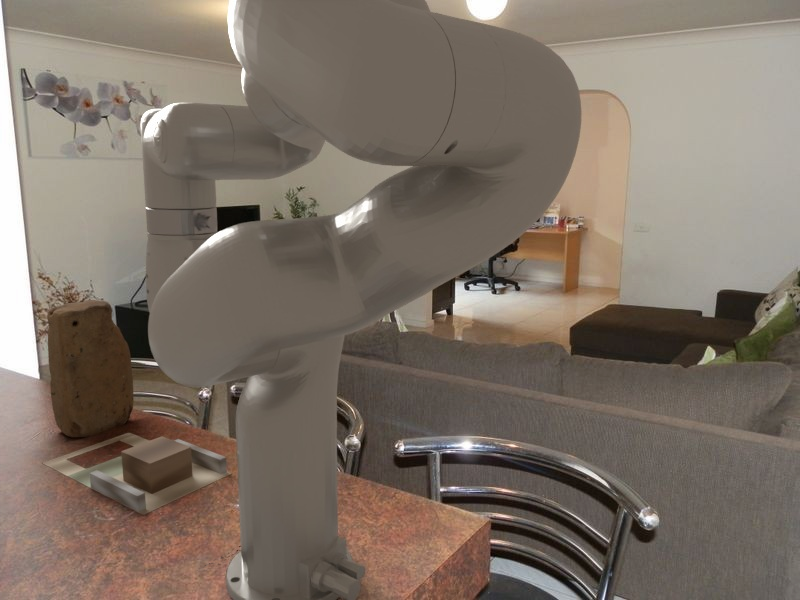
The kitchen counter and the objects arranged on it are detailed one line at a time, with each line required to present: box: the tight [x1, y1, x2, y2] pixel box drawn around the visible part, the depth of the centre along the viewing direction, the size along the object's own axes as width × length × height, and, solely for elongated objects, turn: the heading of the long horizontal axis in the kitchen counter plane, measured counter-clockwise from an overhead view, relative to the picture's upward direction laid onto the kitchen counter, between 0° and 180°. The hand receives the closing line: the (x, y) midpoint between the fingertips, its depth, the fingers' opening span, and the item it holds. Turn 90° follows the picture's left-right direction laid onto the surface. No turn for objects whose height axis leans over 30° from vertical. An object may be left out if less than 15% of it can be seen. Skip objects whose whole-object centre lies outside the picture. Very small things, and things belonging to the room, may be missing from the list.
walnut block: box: [120, 435, 193, 494], centre depth 85 cm, size 6×6×4 cm
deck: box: [41, 432, 232, 516], centre depth 88 cm, size 23×13×3 cm, turn 55°
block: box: [46, 299, 135, 438], centre depth 102 cm, size 11×8×20 cm
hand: (190, 379), depth 78 cm, fingers closed
